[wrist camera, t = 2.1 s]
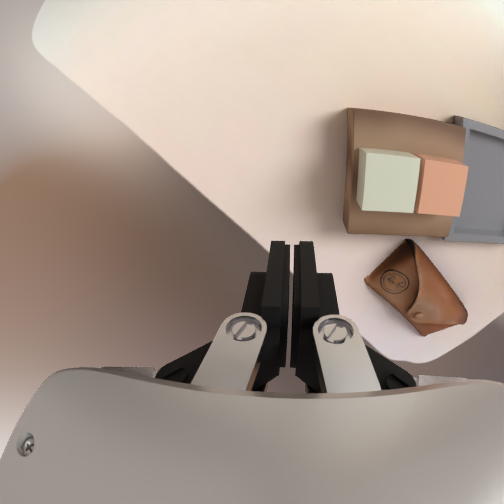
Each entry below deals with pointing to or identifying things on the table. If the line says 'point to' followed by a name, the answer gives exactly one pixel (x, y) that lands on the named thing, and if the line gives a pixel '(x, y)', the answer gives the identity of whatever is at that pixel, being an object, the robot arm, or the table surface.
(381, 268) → the sunglasses case
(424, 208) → the tile
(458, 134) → the brown square slab
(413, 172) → the pale green rectangular block
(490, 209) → the tray
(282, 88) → the table surface
